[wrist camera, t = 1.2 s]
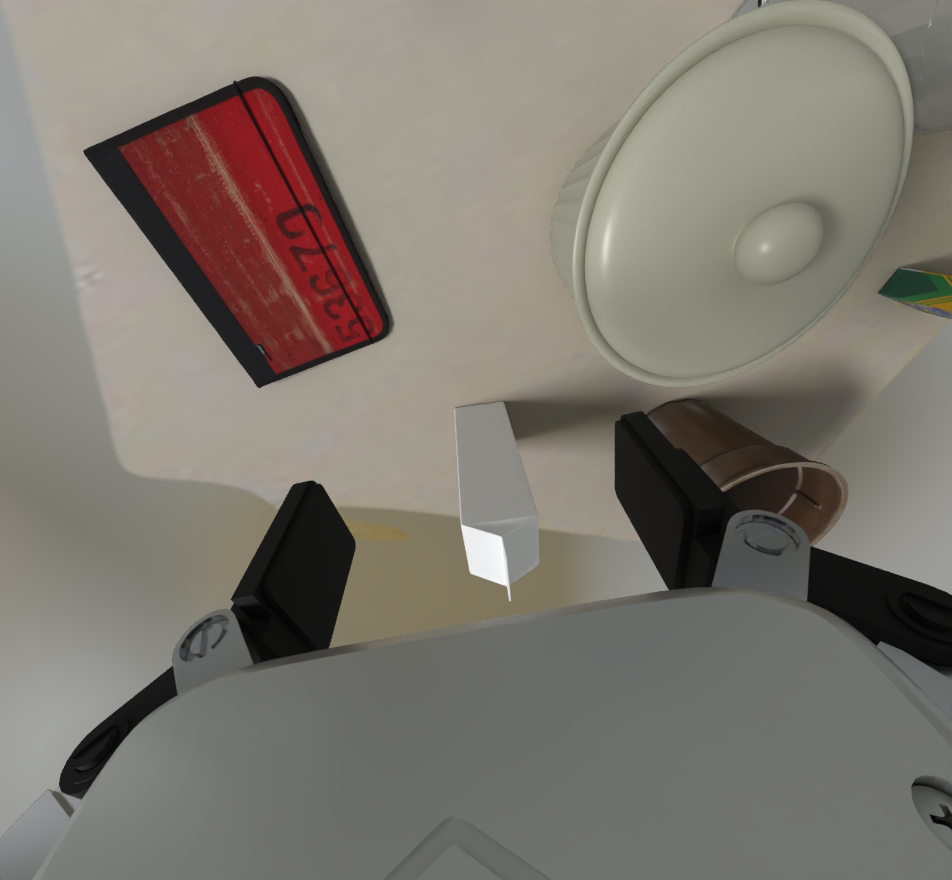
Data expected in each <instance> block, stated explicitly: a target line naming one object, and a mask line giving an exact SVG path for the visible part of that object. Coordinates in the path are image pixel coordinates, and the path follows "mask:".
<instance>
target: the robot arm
mask: <svg viewBox="0 0 952 880" xmlns="http://www.w3.org/2000/svg"><path fill="white" fill-rule="evenodd" d="M782 1H789V0H745V1H744V2H743V4H742V5H741V6H740V7H739V8H738V10H737V11H736V13H735V14H734V15H733V17H732V18H731V19H733V18H735V17H737V16H739V15H741V14H744V13H746V12H748V11H751V10H754V9H756V8H759V7H763V6H766V5H769V4H773V3H777V2H782ZM827 1H832V2H837V3H840V4H843V5H846V6H849V7H851V8H854V9H856V10H858V11H860V12H861V13H863V14H865V15H866V16H868V17H869V18H870V19H872V20H873V21H874V22H875V23H876V24H878V25H879V26H880V27H881V28H882V29H883V30H884V32H885V33H886V34H887V35H888V36H889V38H890V39H891V40H892V42H893V43H894V45H895V47H896V48H897V50H898V52H899V54H900V56H901V58H902V60H903V62H904V65H905V68H906V71H907V74H908V77H909V81H910V86H911V91H912V97H913V109H914V130H913V135H917V134H924V133H932V132H939V131H946V130H952V0H827ZM615 491H616V495H617V497H618V499H619V501H620V503H621V505H622V506H623V508H624V510H625V512H626V514H627V515H628V517H629V519H630V521H631V523H632V525H633V526H634V528H635V530H636V532H637V534H638V535H639V537H640V539H641V541H642V543H643V544H644V546H645V548H646V550H647V551H648V553H649V555H650V557H651V559H652V561H653V563H654V564H655V566H656V568H657V570H658V571H659V573H660V575H661V577H662V579H663V581H664V582H665V584H666V586H667V588H668V589H669V590H668V591H659V592H653V593H647V594H640V595H634V596H627V597H621V598H614V599H608V600H601V601H595V602H589V603H584V604H578V605H573V606H566V607H560V608H555V609H548V610H543V611H537V612H531V613H526V614H520V615H513V616H508V617H502V618H496V619H490V620H485V621H480V622H474V623H468V624H462V625H456V626H451V627H445V628H440V629H434V630H429V631H422V632H417V633H411V634H406V635H400V636H395V637H389V638H384V639H378V640H373V641H367V642H362V643H356V644H351V645H345V646H340V647H335V648H329V646H330V642H331V638H332V635H333V631H334V627H335V623H336V619H337V616H338V612H339V608H340V605H341V601H342V597H343V593H344V590H345V586H346V582H347V578H348V574H349V571H350V567H351V564H352V559H353V556H354V552H355V547H356V546H355V540H354V537H353V536H352V534H351V532H350V531H349V529H348V527H347V526H346V524H345V522H344V521H343V519H342V517H341V516H340V514H339V512H338V511H337V509H336V507H335V506H334V504H333V502H332V501H331V499H330V498H329V496H328V494H327V493H326V491H325V489H324V488H323V486H322V485H321V484H317V483H316V482H315V481H306V482H302V483H297V484H294V485H293V486H292V487H291V489H290V491H289V493H288V494H287V496H286V498H285V500H284V502H283V504H282V506H281V507H280V509H279V511H278V513H277V515H276V517H275V518H274V521H273V522H272V524H271V526H270V528H269V530H268V531H267V533H266V535H265V537H264V539H263V541H262V542H261V544H260V546H259V548H258V550H257V552H256V554H255V556H254V557H253V559H252V561H251V563H250V565H249V566H248V569H247V571H246V572H245V574H244V576H243V578H242V579H241V581H240V583H239V585H238V587H237V589H236V590H235V592H234V594H233V596H232V598H231V600H232V601H233V602H234V604H233V606H232V608H231V610H228V609H220V610H216V611H213V612H211V613H209V614H207V615H205V616H204V617H202V618H200V619H199V620H198V621H196V622H195V623H194V624H193V625H192V626H191V627H190V628H189V629H188V630H187V631H186V632H185V633H184V634H183V635H182V637H181V638H180V640H179V641H178V643H177V644H176V647H175V649H174V651H173V657H172V663H173V666H172V667H171V668H169V669H168V670H167V671H166V672H164V673H163V674H162V675H160V676H159V677H158V678H157V679H156V680H154V681H153V682H152V683H150V684H149V685H148V686H147V687H146V688H144V689H143V690H142V691H140V692H139V693H138V694H137V695H135V696H134V697H133V698H132V699H130V700H129V701H128V702H127V703H125V704H124V705H123V706H122V707H120V708H119V709H118V710H117V711H115V712H114V713H113V714H112V715H110V716H109V717H108V718H107V719H105V720H104V721H103V722H101V724H99V725H98V726H97V727H96V728H94V729H93V730H92V731H91V732H90V733H89V734H88V735H87V736H86V737H85V738H84V739H83V740H82V741H81V743H80V744H79V745H78V746H77V747H76V748H75V750H74V751H73V753H72V754H71V756H70V757H69V759H68V760H67V762H66V764H65V766H64V768H63V770H62V773H61V777H60V781H59V787H58V788H57V789H56V790H55V791H53V790H49V789H47V790H46V791H45V792H44V793H43V794H42V795H41V796H40V797H39V798H38V799H37V800H36V801H35V802H34V803H33V805H32V806H31V807H30V808H29V809H28V810H27V811H26V812H25V813H24V814H23V815H22V816H21V817H20V818H19V819H18V820H17V821H16V822H15V823H14V824H13V825H12V826H11V827H10V828H9V829H8V830H7V831H6V832H5V834H3V836H2V837H1V838H0V880H952V595H950V594H949V593H947V592H945V591H942V590H939V589H937V588H935V587H932V586H930V585H927V584H924V583H921V582H918V581H915V580H912V579H909V578H906V577H903V576H900V575H897V574H894V573H891V572H888V571H884V570H882V569H879V568H875V567H872V566H869V565H866V564H863V563H860V562H857V561H854V560H851V559H848V558H845V557H842V556H839V555H836V554H833V553H830V552H827V551H824V550H820V549H818V548H815V547H812V546H810V542H809V538H808V536H807V535H806V533H805V532H804V530H803V529H802V528H800V527H799V526H798V525H797V524H796V523H794V522H793V521H791V520H789V519H787V518H785V517H784V516H781V515H778V514H775V513H772V512H768V511H762V510H746V511H742V512H741V511H740V510H739V509H738V508H737V507H736V506H735V504H734V503H733V502H732V501H731V500H730V499H729V498H728V497H727V496H726V495H725V494H724V492H723V491H722V490H721V489H720V488H719V487H718V486H717V485H716V484H715V483H714V482H713V480H712V479H711V478H710V477H709V476H708V475H707V474H706V473H705V472H704V471H703V470H702V468H701V467H700V466H699V465H698V464H697V463H696V462H695V461H694V460H693V459H692V458H691V456H690V455H689V454H688V453H687V452H686V451H685V450H683V449H681V448H675V447H674V446H673V445H672V444H671V443H670V442H669V440H668V439H667V438H666V437H665V436H664V435H663V434H662V433H661V431H660V430H659V429H658V428H657V427H656V426H655V425H654V424H653V422H652V421H651V420H650V419H649V418H648V417H647V416H646V415H645V413H643V412H642V411H639V412H634V413H630V414H625V415H622V416H621V418H620V420H619V421H616V422H615ZM328 648H329V649H328Z"/></svg>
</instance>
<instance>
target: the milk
mask: <svg viewBox="0 0 952 880" xmlns="http://www.w3.org/2000/svg"><path fill="white" fill-rule="evenodd" d="M454 412H455V429H456V447H457V464H458V482H459V499H460V516H461V528H462V533H463V538H464V543H465V549H466V553H467V559H468V565H469V570H470V573H471V574H474V575H476V576H479V577H482V578H485V579H488V580H491V581H494V582H496V583H499V584H502V585H504V586H507V589H508V595H509V601H511V596H510V585H511V584H512V583H513V582H515V581H516V580H518V579H519V578H520V577H522V576H523V575H525V574H526V573H527V572H529V571H530V570H531V569H533V568H534V567H535V566H537V565H538V564H539V545H538V544H539V542H538V513H537V510H536V507H535V503H534V500H533V497H532V493H531V490H530V487H529V483H528V480H527V477H526V474H525V470H524V467H523V464H522V460H521V457H520V454H519V451H518V447H517V444H516V441H515V437H514V434H513V431H512V427H511V424H510V421H509V418H508V414H507V411H506V408H505V404H504V402H495V403H488V404H481V405H473V406H466V407H458V408H455V409H454Z"/></svg>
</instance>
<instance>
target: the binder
mask: <svg viewBox="0 0 952 880" xmlns="http://www.w3.org/2000/svg"><path fill="white" fill-rule="evenodd" d="M83 152H84V154H85V156H86V157H87V158H88V160H89V161H90V162H91V164H92V165H93V167H94V168H95V169H96V171H97V172H98V173H99V174H100V176H101V177H102V179H103V180H104V181H105V183H106V184H107V185H108V187H109V188H110V189H111V191H112V192H113V193H114V195H115V196H116V197H117V199H118V200H119V201H120V202H121V204H122V205H123V206H124V208H125V209H126V210H127V212H128V213H129V214H130V216H131V217H132V218H133V220H134V221H135V222H136V224H137V225H138V226H139V228H140V229H141V231H142V232H143V233H144V235H145V236H146V237H147V239H148V240H149V241H150V243H151V244H152V245H153V247H154V248H155V249H156V251H157V252H158V253H159V255H160V256H161V258H162V259H163V260H164V262H165V263H166V264H167V266H168V267H169V268H170V269H171V271H172V272H173V273H174V275H175V276H176V277H177V279H178V280H179V282H180V283H181V284H182V286H183V287H184V288H185V290H186V291H187V292H188V294H189V295H190V296H191V298H192V299H193V300H194V302H195V303H196V304H197V306H198V307H199V308H200V310H201V311H202V313H203V314H204V315H205V317H206V318H207V319H208V321H209V322H210V323H211V324H212V326H213V327H214V328H215V330H216V331H217V332H218V334H219V335H220V337H221V338H222V339H223V341H224V342H225V344H226V345H227V346H228V348H229V349H230V350H231V352H232V353H233V354H234V356H235V357H236V358H237V360H238V361H239V362H240V364H241V365H242V366H243V368H244V369H245V370H246V372H247V373H248V374H249V376H250V377H251V378H252V379H253V381H254V383H255V384H256V386H257V387H258V388H261V387H262V386H265V385H267V384H270V383H272V382H275V381H277V380H280V379H283V378H286V377H288V376H291V375H293V374H296V373H298V372H301V371H304V370H306V369H308V368H311V367H314V366H316V365H319V364H321V363H324V362H326V361H329V360H331V359H334V358H336V357H339V356H342V355H344V354H347V353H349V352H352V351H354V350H357V349H359V348H362V347H365V346H367V345H370V344H374V343H375V342H378V341H380V340H381V339H383V338H384V337H385V336H386V334H387V332H388V329H389V321H388V317H387V315H386V312H385V310H384V308H383V306H382V304H381V302H380V300H379V298H378V296H377V294H376V292H375V289H374V287H373V285H372V283H371V281H370V278H369V276H368V274H367V272H366V270H365V268H364V266H363V264H362V261H361V259H360V257H359V255H358V253H357V251H356V249H355V246H354V244H353V242H352V240H351V237H350V235H349V233H348V231H347V229H346V227H345V225H344V223H343V220H342V218H341V216H340V214H339V212H338V209H337V207H336V205H335V203H334V201H333V199H332V196H331V194H330V192H329V190H328V188H327V186H326V184H325V182H324V179H323V177H322V175H321V173H320V171H319V169H318V166H317V164H316V162H315V160H314V158H313V156H312V154H311V151H310V149H309V147H308V145H307V143H306V141H305V139H304V136H303V134H302V132H301V129H300V126H299V123H298V121H297V119H296V116H295V114H294V112H293V110H292V107H291V105H290V103H289V102H288V100H287V98H286V97H285V95H284V94H283V92H282V91H281V90H280V89H279V88H278V87H277V86H276V85H275V84H273V83H272V82H270V81H268V80H266V79H264V78H261V77H249V78H246V79H243V80H240V81H238V82H237V81H234V82H233V84H231V85H229V86H226V87H224V88H222V89H219V90H217V91H215V92H213V93H211V94H208V95H206V96H204V97H202V98H199V99H197V100H195V101H193V102H190V103H188V104H186V105H183V106H181V107H179V108H176V109H174V110H171V111H169V112H167V113H165V114H163V115H160V116H158V117H156V118H154V119H151V120H149V121H147V122H145V123H142V124H140V125H138V126H136V127H134V128H131V129H129V130H127V131H125V132H123V133H121V134H118V135H116V136H114V137H112V138H109V139H107V140H105V141H103V142H101V143H98V144H96V145H94V146H91V147H89V148H87V149H85V150H84V151H83Z"/></svg>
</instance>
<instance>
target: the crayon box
mask: <svg viewBox="0 0 952 880" xmlns="http://www.w3.org/2000/svg"><path fill="white" fill-rule="evenodd" d="M878 294H880V295H883V296H885V297H888V298H891V299H893V300H896V301H898V302H901V303H903V304H906V305H908V306H911V307H913V308H916V309H918V310H921V311H923V312H927V313H931V314H934V315H938V316H942V317H946V318H949V319H952V276H950V275H944V274H938V273H932V272H926V271H921V270H915V269H909V268H903V267H900V268H898V270H897V271H896V272H895V273H894V274H893V276H892V277H891V278H890V279H889V280H888V282H887V283H886V284H885V285H884V287H883V288H882V289H881V290H880V291H879V293H878Z"/></svg>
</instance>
